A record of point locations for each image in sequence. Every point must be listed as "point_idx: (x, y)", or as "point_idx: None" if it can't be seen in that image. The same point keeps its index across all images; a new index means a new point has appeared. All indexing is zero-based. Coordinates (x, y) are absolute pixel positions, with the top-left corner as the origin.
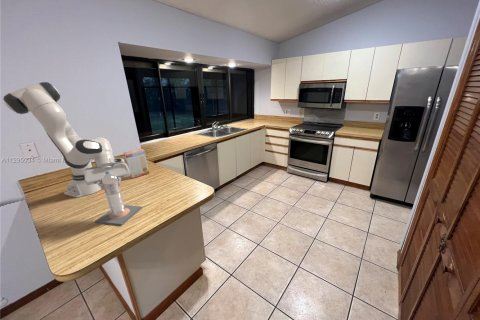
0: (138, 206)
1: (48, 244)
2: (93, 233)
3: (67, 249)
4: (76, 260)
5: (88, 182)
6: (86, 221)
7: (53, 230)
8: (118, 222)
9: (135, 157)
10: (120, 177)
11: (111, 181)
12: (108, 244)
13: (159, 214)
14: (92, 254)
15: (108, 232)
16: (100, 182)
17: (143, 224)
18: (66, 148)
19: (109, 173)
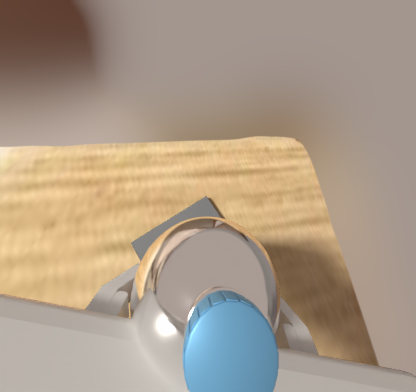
0: (137, 252)
1: (337, 249)
2: (260, 216)
3: (301, 199)
4: (286, 157)
5: (402, 372)
6: None
7: (343, 316)
8: (209, 208)
9: None
10: (99, 296)
11: (206, 217)
12: (240, 157)
13: (122, 172)
14: (265, 152)
15: (234, 194)
16: (278, 341)
17: (169, 164)
18: None
19: (198, 304)
